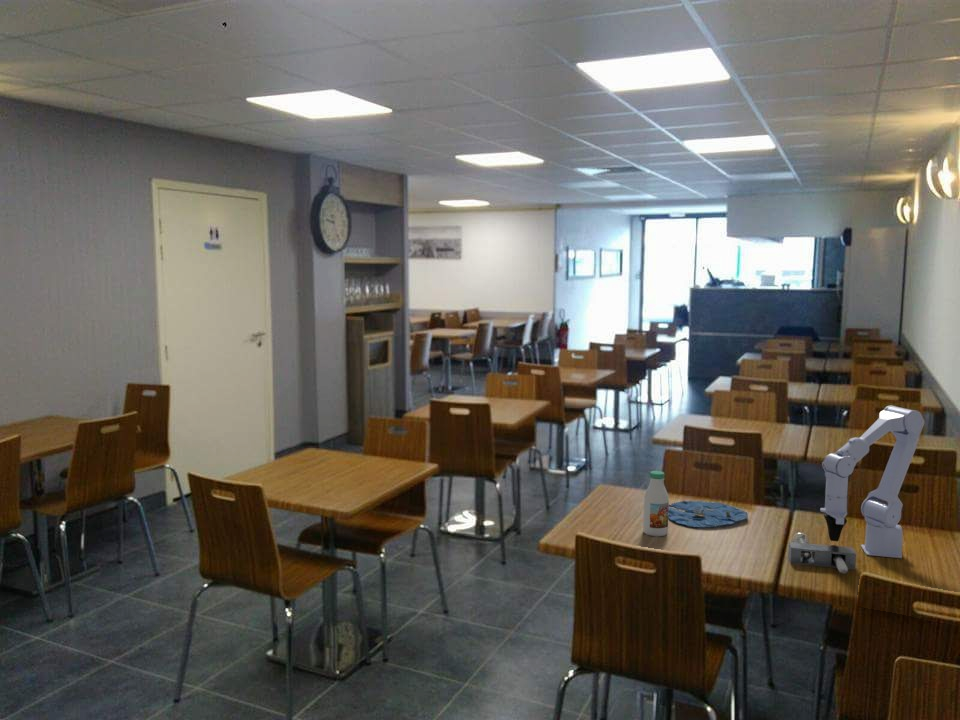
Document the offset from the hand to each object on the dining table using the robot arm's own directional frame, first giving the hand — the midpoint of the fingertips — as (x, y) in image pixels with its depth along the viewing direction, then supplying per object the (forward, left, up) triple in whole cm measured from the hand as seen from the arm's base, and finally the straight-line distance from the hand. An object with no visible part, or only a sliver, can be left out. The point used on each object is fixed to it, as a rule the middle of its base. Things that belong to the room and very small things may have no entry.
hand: (833, 540), depth 217 cm
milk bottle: (+51, -7, -6) cm, 52 cm away
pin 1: (+8, 0, -5) cm, 10 cm away
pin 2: (0, +9, -5) cm, 10 cm away
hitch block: (+4, +6, -5) cm, 9 cm away
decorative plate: (+36, -29, -6) cm, 47 cm away
